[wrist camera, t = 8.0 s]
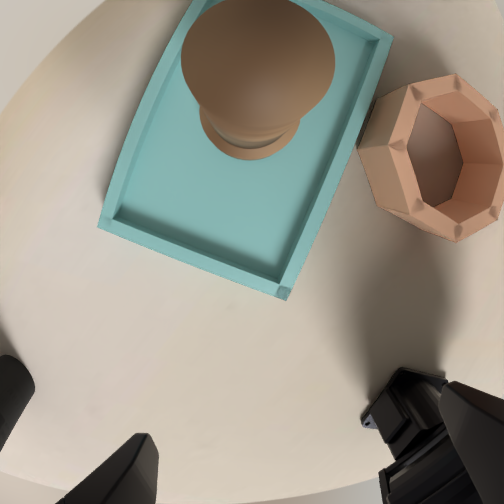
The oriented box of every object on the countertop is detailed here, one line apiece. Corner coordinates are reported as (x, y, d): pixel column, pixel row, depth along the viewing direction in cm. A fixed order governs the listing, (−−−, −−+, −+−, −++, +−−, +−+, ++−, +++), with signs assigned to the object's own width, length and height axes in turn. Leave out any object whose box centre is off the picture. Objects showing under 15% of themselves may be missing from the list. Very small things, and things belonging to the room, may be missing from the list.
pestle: (308, 95, 17) (373, 24, 7) (274, 174, 18) (313, 175, 8) (224, 63, 16) (210, -35, 6) (189, 141, 17) (132, 108, 8)
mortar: (481, 134, 18) (520, 132, 14) (444, 243, 20) (482, 259, 16) (387, 67, 17) (419, 47, 13) (341, 188, 19) (368, 193, 15)
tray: (381, 46, 17) (393, 36, 15) (282, 288, 21) (286, 300, 19) (217, -19, 15) (215, -34, 13) (109, 221, 19) (97, 227, 17)
